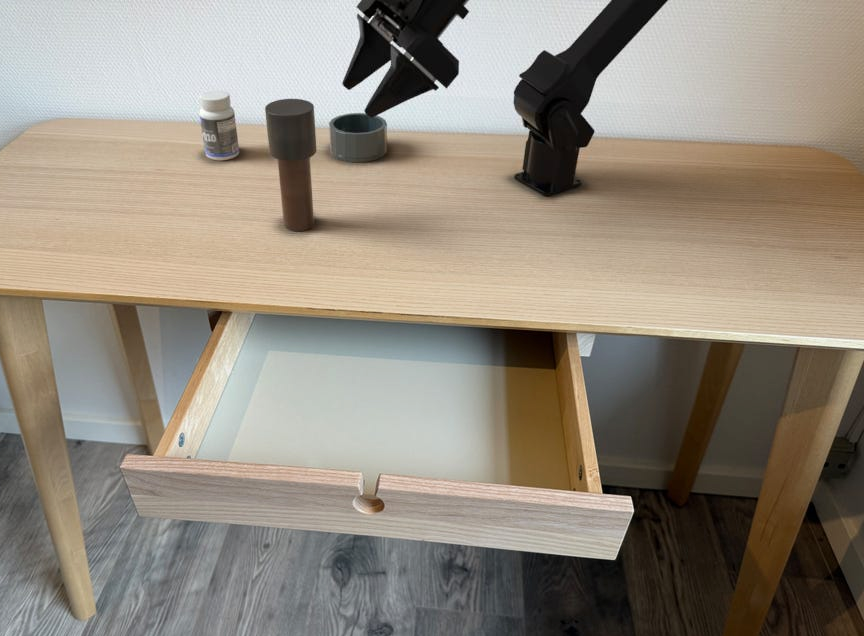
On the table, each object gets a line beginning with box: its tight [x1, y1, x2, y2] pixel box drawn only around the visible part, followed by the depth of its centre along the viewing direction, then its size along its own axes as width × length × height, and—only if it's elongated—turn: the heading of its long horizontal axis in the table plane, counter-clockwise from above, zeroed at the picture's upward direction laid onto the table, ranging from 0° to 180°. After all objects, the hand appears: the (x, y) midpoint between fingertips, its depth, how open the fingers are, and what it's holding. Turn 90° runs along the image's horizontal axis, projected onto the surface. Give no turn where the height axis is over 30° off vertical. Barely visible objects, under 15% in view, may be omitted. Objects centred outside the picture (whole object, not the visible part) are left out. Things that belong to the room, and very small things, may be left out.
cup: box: [328, 112, 388, 163], centre depth 101 cm, size 8×8×4 cm
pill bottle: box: [198, 89, 240, 161], centre depth 98 cm, size 5×5×8 cm
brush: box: [264, 98, 318, 232], centre depth 81 cm, size 5×5×14 cm
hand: (355, 100), depth 80 cm, fingers open, 9 cm apart
